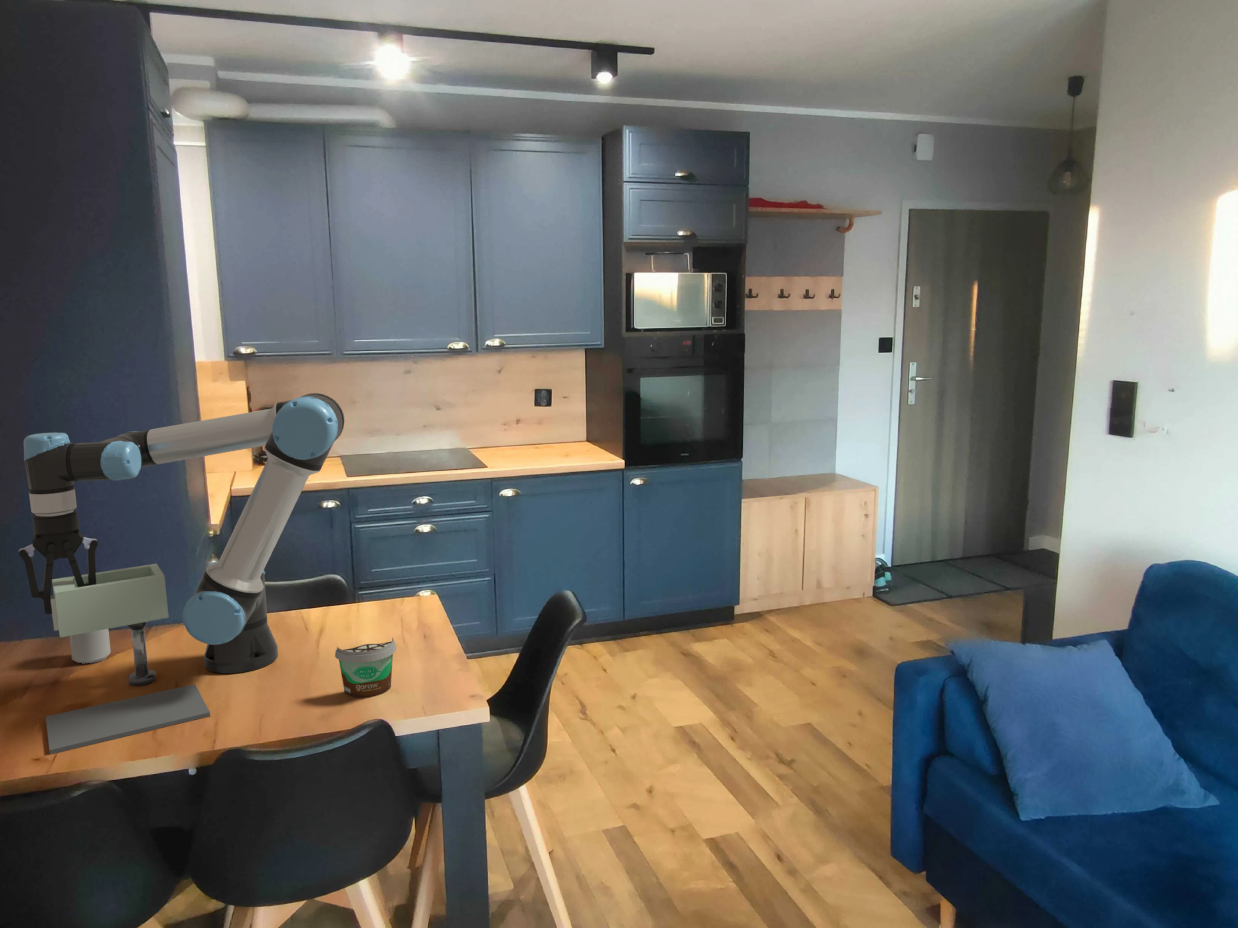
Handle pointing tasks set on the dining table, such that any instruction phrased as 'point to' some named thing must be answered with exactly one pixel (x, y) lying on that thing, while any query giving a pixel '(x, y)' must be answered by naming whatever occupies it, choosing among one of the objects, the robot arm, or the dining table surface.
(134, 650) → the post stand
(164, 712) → the rubber mat
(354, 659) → the food container
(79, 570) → the robot arm
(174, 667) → the dining table surface
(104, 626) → the green slotted block
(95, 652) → the can
